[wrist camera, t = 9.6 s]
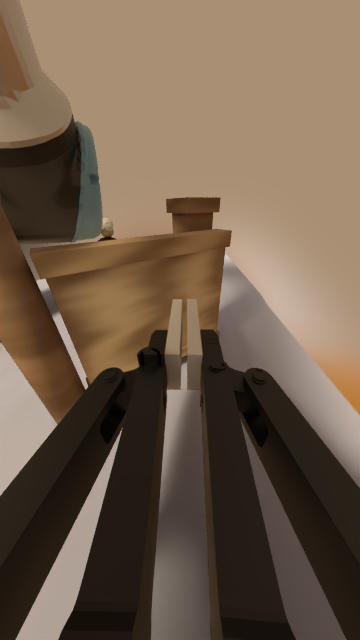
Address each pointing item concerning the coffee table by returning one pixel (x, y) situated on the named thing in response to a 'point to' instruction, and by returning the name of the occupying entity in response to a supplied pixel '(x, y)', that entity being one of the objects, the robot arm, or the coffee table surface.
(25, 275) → the hinge post
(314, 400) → the coffee table surface
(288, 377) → the coffee table surface
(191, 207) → the latch post
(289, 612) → the coffee table surface
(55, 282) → the gate
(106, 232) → the grandmother figurine
